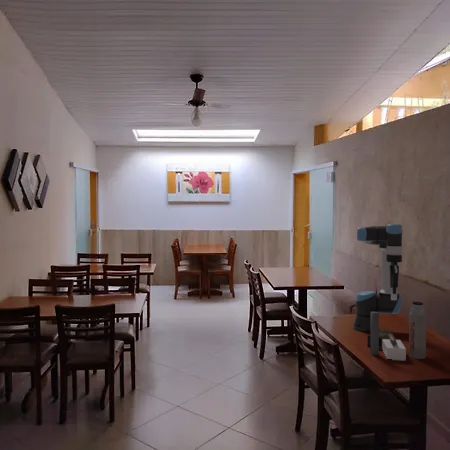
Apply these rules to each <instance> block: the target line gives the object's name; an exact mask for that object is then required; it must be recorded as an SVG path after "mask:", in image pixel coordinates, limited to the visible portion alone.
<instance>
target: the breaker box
mask: <svg viewBox="0 0 450 450" xmlns="http://www.w3.org/2000/svg"><path fill="white" fill-rule="evenodd" d="M396 342H397V345H392V344H391V342H390V340H389V339H382V348H381V350H383V351H382V353H383V352H384V353H383V355H384V354H385V355H384V357H385V356H386V357H385V359H386V358H387V359H392V360H391V361H403V362H404V361H407V360H406V359H407V356H406V355H407V353H406V352H407V350H406V349H407V348H406V347H405V345H404V343H403V342H402V341H401V339H396ZM387 359H386V360H387Z"/></svg>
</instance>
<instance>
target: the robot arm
mask: <svg viewBox="0 0 450 450" xmlns="http://www.w3.org/2000/svg"><path fill="white" fill-rule="evenodd" d="M356 232H357V233H356V235H357V237H356V239H357V241H358V242H363V243H365V244H368V245H375V246H379V247H378V248H379V249H380V251H381V289H379V290H378V293H376V291H374V290H366V291H365V290H364V291H359V292H358V293H357V294H356V295H355V318H354V321H353V323H352V329H354V330H356V331H359V332H367V333H368V332H370V333H371V312H379V314H388V315H389V314H390V315H394V314H395V315H396V314H397V315H398V314H399V313H400V311H401V308H402V307H401V305H402V295H401V294H400V292H399V291H398V287H399V274H400V266H399V265H398V263H402V262H403V226H402V224H400V223H389V224H387V225H385V226H384V225H382V226H379V225H372V226H361V227H360V226H359V227H357V229H356Z"/></svg>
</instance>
